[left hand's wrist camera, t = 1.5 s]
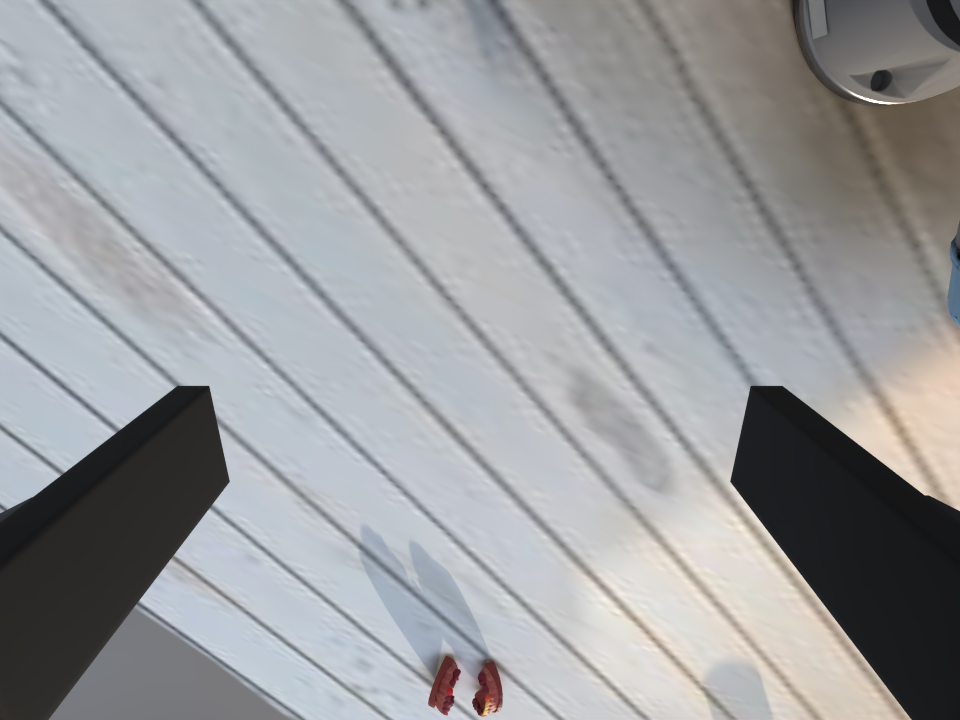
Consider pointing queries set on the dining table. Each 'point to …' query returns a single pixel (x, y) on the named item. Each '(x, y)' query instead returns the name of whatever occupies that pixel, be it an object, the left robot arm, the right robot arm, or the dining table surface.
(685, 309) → the dining table surface
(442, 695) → the dental model
